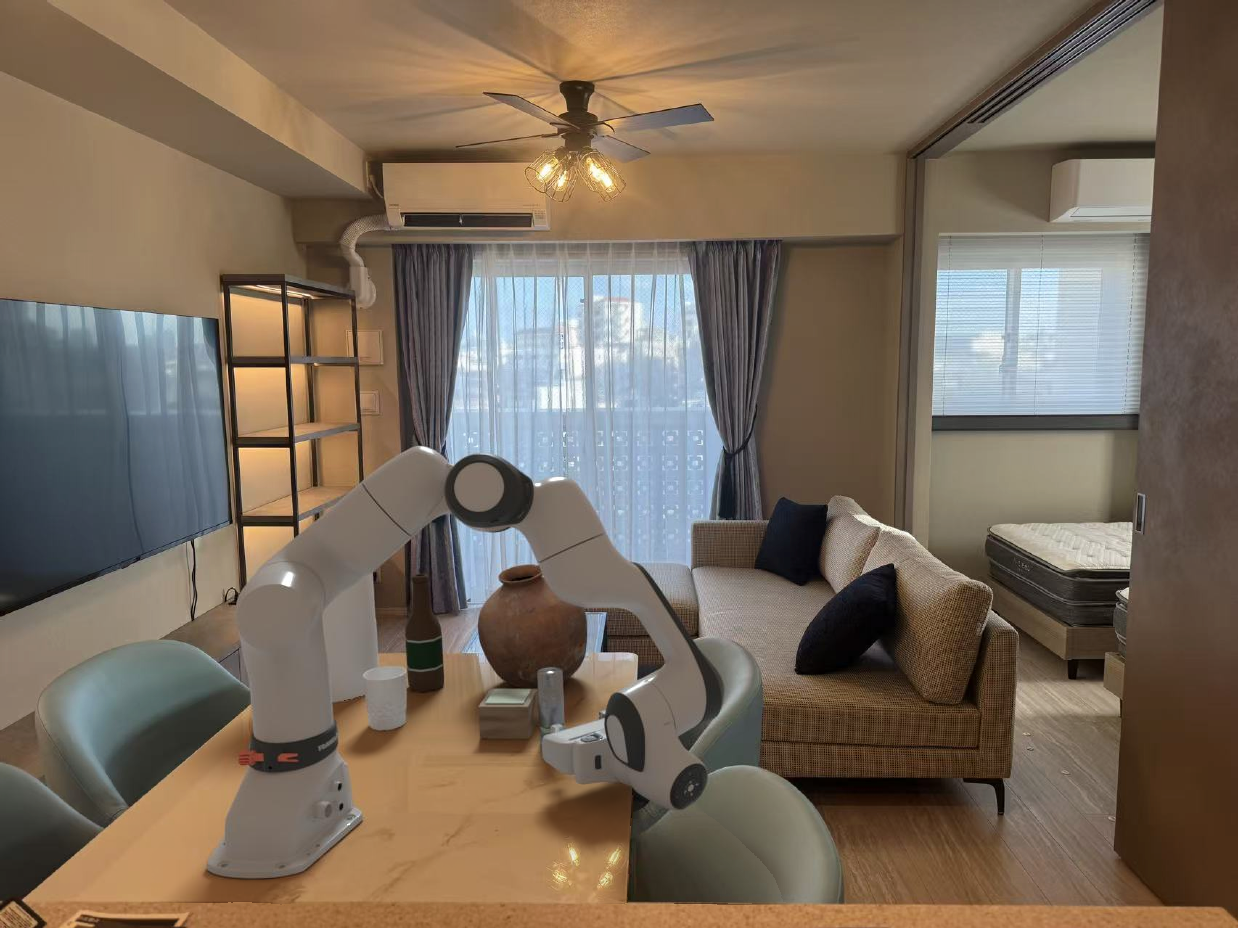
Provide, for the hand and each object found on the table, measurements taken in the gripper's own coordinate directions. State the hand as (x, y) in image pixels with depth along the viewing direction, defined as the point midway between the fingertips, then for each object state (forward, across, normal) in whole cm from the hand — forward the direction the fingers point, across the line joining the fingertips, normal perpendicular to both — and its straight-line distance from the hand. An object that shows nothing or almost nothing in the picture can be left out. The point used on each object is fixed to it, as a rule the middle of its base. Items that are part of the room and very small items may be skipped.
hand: (578, 721), depth 146 cm
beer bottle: (+51, +6, +7) cm, 52 cm away
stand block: (+20, +3, +7) cm, 21 cm away
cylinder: (+63, +22, +7) cm, 67 cm away
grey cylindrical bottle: (+9, 0, +7) cm, 12 cm away
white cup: (+37, +20, +7) cm, 42 cm away
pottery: (+38, -12, +7) cm, 41 cm away
